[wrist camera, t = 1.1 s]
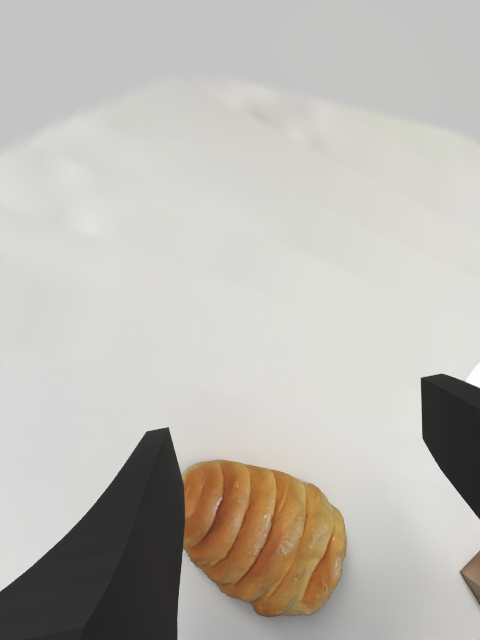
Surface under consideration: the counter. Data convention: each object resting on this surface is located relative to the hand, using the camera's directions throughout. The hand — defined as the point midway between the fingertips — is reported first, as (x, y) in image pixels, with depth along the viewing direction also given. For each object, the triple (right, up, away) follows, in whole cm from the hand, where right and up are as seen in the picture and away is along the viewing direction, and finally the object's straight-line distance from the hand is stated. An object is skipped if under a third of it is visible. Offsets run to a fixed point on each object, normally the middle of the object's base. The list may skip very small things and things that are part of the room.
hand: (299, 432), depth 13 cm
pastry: (-1, -8, +12) cm, 15 cm away
